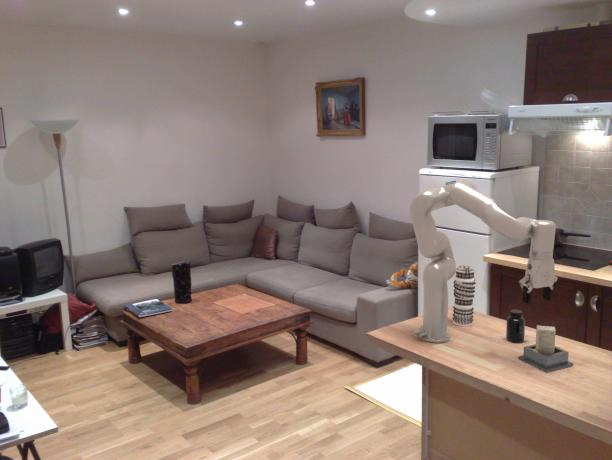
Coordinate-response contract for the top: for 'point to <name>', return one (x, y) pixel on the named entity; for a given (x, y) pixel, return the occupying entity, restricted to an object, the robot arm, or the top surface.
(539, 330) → the skincare box
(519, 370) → the top surface
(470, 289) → the decorative candle
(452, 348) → the top surface
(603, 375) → the top surface
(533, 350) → the socket
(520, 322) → the supplement bottle
